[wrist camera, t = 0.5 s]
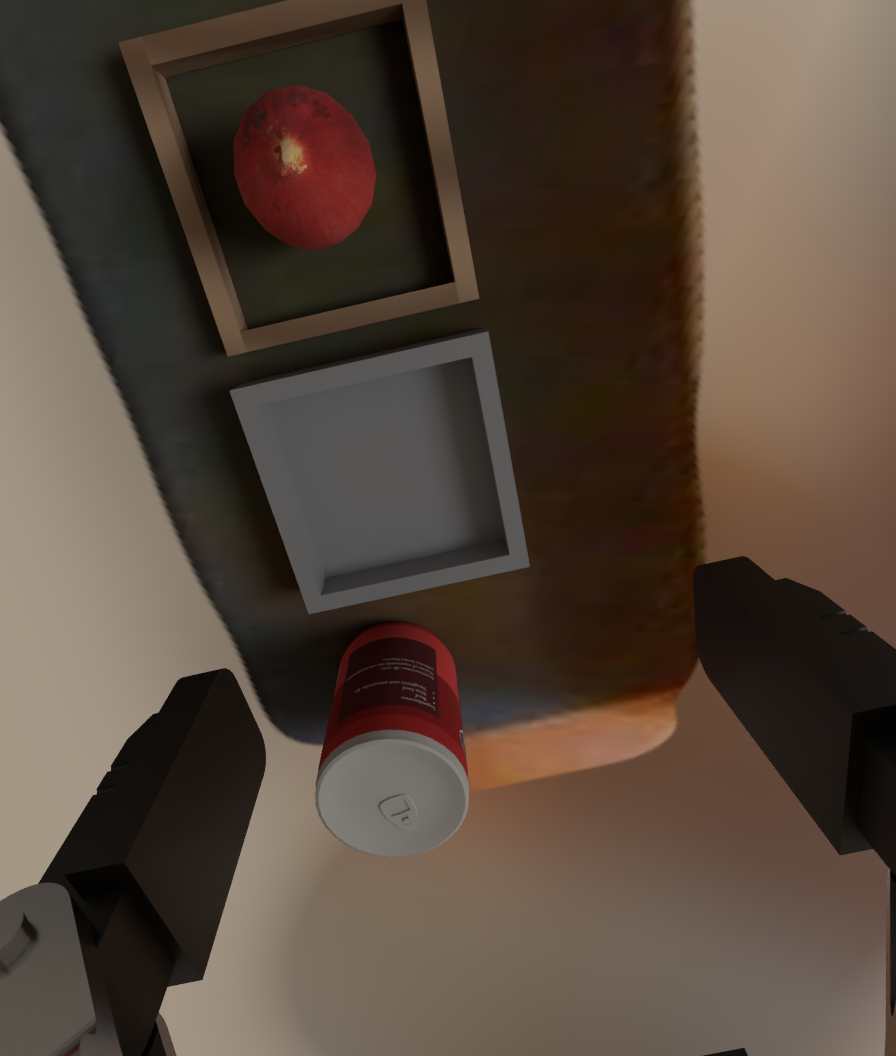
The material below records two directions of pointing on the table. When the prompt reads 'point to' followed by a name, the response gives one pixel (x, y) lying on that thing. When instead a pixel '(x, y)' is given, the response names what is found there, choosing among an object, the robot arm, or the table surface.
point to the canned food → (394, 745)
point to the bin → (387, 470)
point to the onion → (303, 167)
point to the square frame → (308, 15)
